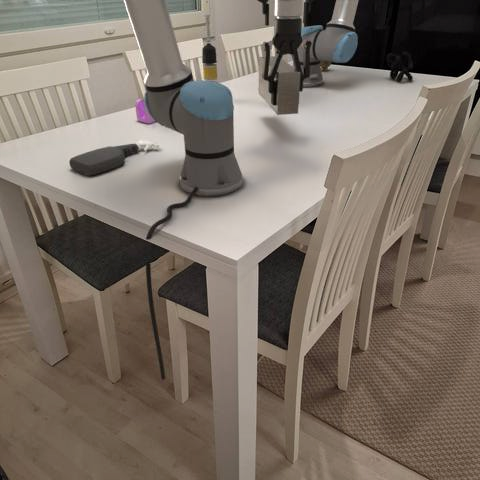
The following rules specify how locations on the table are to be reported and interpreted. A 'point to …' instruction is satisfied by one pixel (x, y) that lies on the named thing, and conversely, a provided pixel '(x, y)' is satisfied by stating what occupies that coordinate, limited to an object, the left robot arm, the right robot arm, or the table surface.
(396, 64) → the squiggle
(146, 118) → the bracket
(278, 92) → the box
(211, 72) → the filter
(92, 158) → the spray bottle
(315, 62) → the right robot arm
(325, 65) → the cup
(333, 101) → the table surface
